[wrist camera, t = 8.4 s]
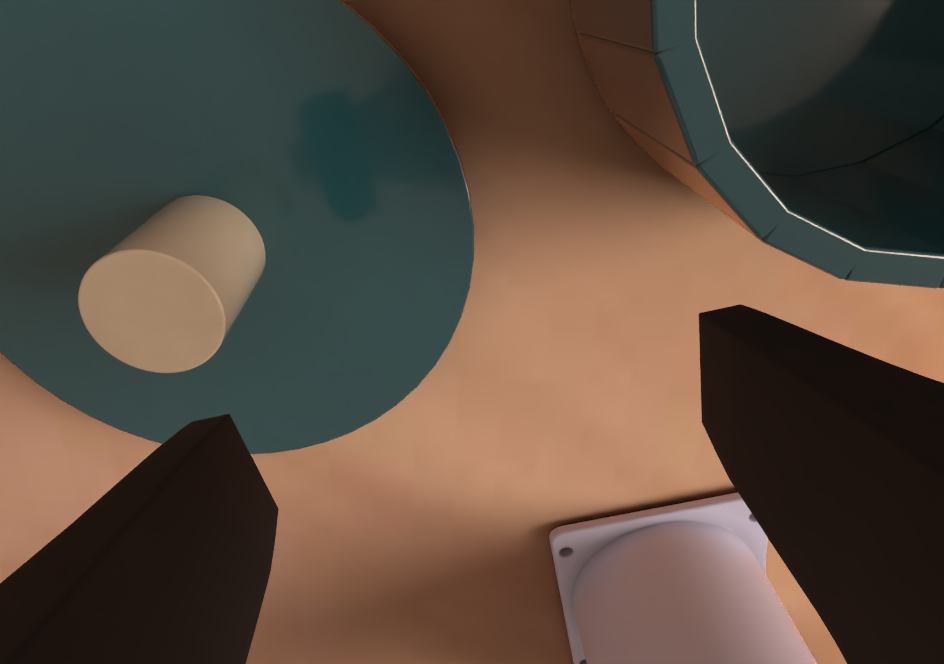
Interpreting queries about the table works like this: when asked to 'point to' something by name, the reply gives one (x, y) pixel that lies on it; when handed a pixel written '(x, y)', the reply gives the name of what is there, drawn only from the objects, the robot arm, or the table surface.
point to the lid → (224, 215)
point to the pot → (791, 119)
